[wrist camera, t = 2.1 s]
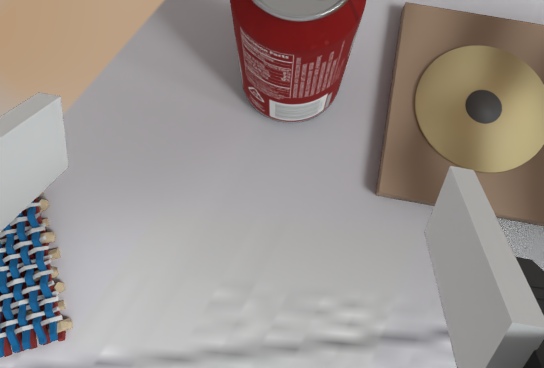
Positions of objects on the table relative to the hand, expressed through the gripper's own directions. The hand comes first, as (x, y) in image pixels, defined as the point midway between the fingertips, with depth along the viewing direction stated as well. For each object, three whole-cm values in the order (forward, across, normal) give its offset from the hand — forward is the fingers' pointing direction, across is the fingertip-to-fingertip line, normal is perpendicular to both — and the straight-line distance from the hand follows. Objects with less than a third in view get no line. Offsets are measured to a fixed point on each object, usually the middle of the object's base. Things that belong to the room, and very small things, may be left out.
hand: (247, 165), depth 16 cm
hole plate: (+18, +18, -3) cm, 26 cm away
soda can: (+18, 0, -3) cm, 18 cm away
